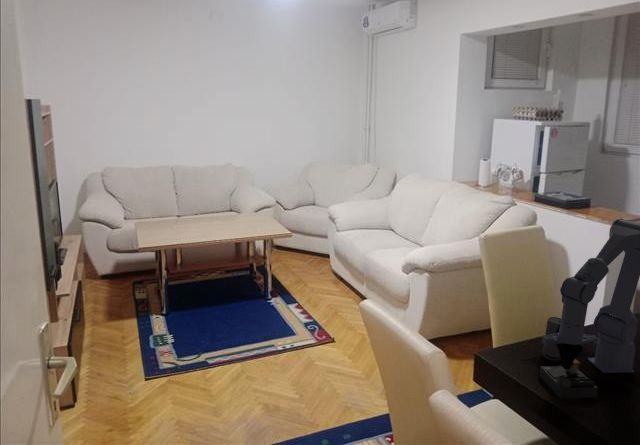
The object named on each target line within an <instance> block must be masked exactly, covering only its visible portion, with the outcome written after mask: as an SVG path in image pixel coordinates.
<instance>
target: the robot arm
mask: <svg viewBox="0 0 640 445" xmlns="http://www.w3.org/2000/svg"><path fill="white" fill-rule="evenodd" d="M608 236H609V238H608V239H607V241H606V242H605V244H604V245H603V247H602V248H601V249H600V251H599V252H598V254H597V255H596V257H590V258H589V259H587V261H585V263H584V264H583V265H582V266H581V267H580V269H579V270H578V271H577V272H576V273H575V274H574V275H573V276H571V277H566V278H565V279H564V281H563V282H562V285H561V287H560V290H559V292H560V295H561V303H562V304H563V305H562V310H561V317H560V318H561V322H560V329H559V333H555V334H551V335H545V334H544V335H542V336H541V343H542V344H543V345H544V344H545V345H549V344H556V345H557V347H558V350H559V353H560V358H561V359H560V366H562V367H563V368H564V369H570V367H571V365H572V363H573V361H574V360H575V359H576V358H577V357H578V356H579V355H580V354H581V353H582V352H583V349H584V348H583V346H581V345H583V344H592V346H593V345H596V349H595V354H594V357H588V358H587V361H589V362H590V363H591V364H592V365H593V366H595V367H596V368H597V369H598V370H599V371H600V372H602V373H604V374H611V373H613V374H614V373H617V374H619V373H635V372H634V369H633V366H634V363H635V362H634V361H635V355H636V346H635V343H634V340H635V338H636V336H637V333H638V323H639V319H638V318H637V316H636V315H635V314H634V313H633V311H632V310H631V306H632V303H633V300H634V297H635V294H636V290H637V286H638V285H639V281H640V222H638V221H637V222H636V221H632V220H627V219H624V218H619V217H618V218H617V219H615V220H614V221H613V222H612V224H611V225H610V229H609V234H608ZM623 252H624V257H623V260H622V263H621V267H620V269H619V273H618V276H617V280H616V283H615V287H614V291H613V294H612V296H611V300H610V304H608V305H604V306H602V307H600V308H599V310H598V313H597V314H596V316H595V317H594V320H593V323H592V324H593V330H594V331H595V332H596V335H594V334H585V333H584V329H585V324H586V319H587V318H586V317H587V313H588V307H589V304H590V303H591V302H592V301H593V299H594V298H595V295H596V292H597V291H598V285H599V284H601V282H602V281H603V279H605V277H606V276H607V275H608V274H609V270H610V269H609V265H610V264H612V263H613V262H614V260H615V259H617V258H618V256H620V255H621V254H622V253H623ZM597 336H598V337H597Z"/></svg>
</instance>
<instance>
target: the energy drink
mask: <svg viewBox="0 0 640 445" xmlns="http://www.w3.org/2000/svg"><path fill="white" fill-rule="evenodd" d="M560 322H561V317H557V316H556V317H555V316H551V317H548V319H547V321H546V325H545V326H546V327H545V334H544V336H545V335H551V334H555V333H559V329H560ZM542 347H543V348H542V353H541V354H542V356H543V358H545V359H547V360H549V361H552V362H553V361H554V362H555V361H556V362H557V361H561V358H560V353H559V350H558V347H557V345H556V344H549V345H545V344H543V346H542Z"/></svg>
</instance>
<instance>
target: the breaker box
mask: <svg viewBox="0 0 640 445" xmlns="http://www.w3.org/2000/svg"><path fill="white" fill-rule="evenodd" d="M577 372H578V373H579V375H570V374H569V373H568V372H567V371H566V370H565V369H564V368H563V367H562V366H561V365H551V366H550V365H549V366H548V365H546V366H544V365H542V366H541V365H540V368H539V374H538V377H539V378H540V379H541V380H542V381H543V382H544V383H545V384H546V385H547V387H549V388H550V389H551V391H552V392H553V393H554V394H555V395H556V396H557V397H558V398H559V399H593V398H595V399H596V398H597V396H598V391H599V390H598V388H599V387H598V386H597V385H596V382H595V380H592V379H591V378H588V377H587V376H586V375H585V374H584V373H583V372H582V371H581V370H579V369H578V371H577Z"/></svg>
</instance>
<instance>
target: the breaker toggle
mask: <svg viewBox="0 0 640 445" xmlns="http://www.w3.org/2000/svg"><path fill="white" fill-rule="evenodd" d="M580 365H581V362H580V361H579V360H577V359H576V358H575V360H574V361H573V363H572V365H571V367H570V369H565V370H566V371H567V372H568V373H569V374H570V375H579V373H578V372H577V371H578V370H579V366H580Z"/></svg>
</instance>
